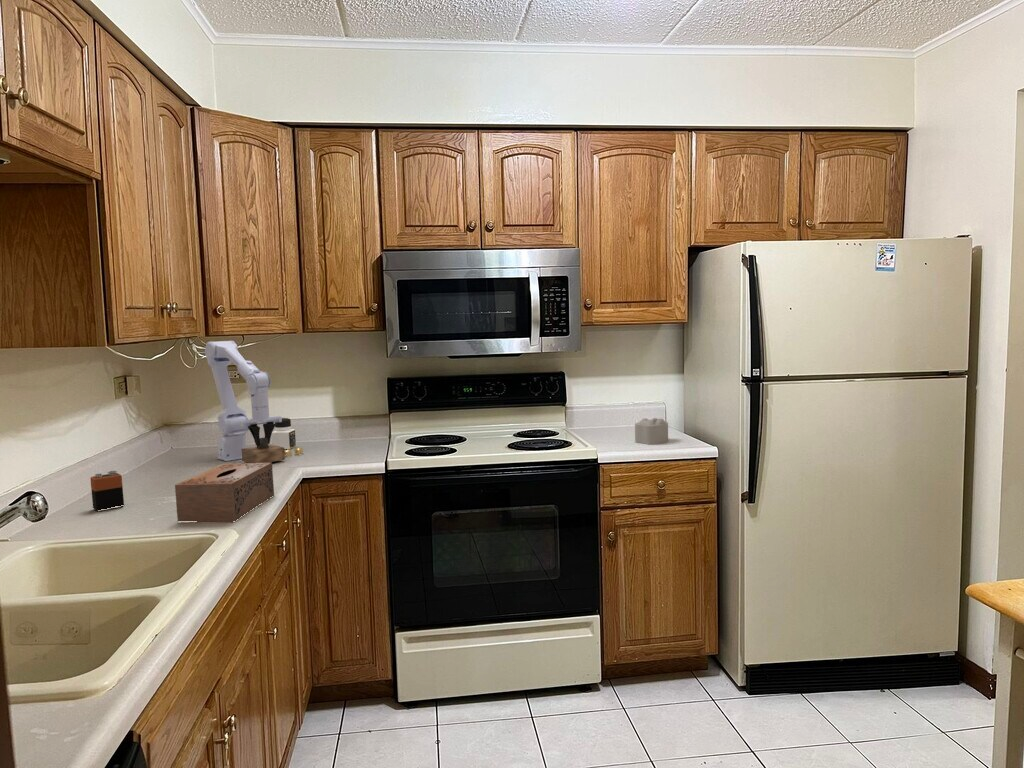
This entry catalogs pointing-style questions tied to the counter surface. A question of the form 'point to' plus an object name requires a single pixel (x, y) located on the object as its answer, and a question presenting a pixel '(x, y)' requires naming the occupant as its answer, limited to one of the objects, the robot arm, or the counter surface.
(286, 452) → the brass puck
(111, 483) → the battery
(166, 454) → the counter surface
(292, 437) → the medicine bottle
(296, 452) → the brass puck
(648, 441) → the lumpy-topped squat cylinder
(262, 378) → the robot arm
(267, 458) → the cover
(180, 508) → the tissue box cover
